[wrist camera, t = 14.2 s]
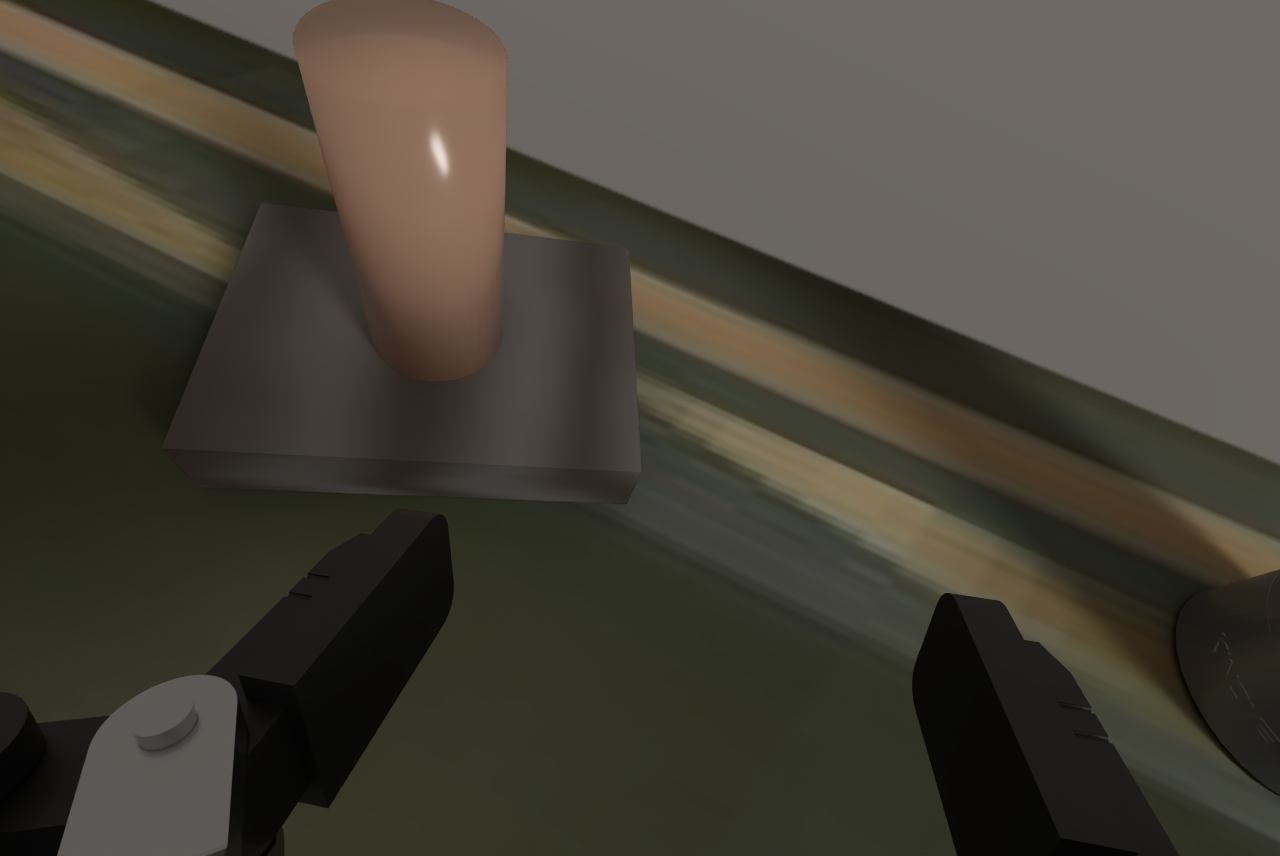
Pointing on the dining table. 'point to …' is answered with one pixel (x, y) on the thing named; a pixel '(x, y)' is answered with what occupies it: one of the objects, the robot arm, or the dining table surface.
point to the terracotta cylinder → (415, 172)
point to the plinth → (412, 380)
